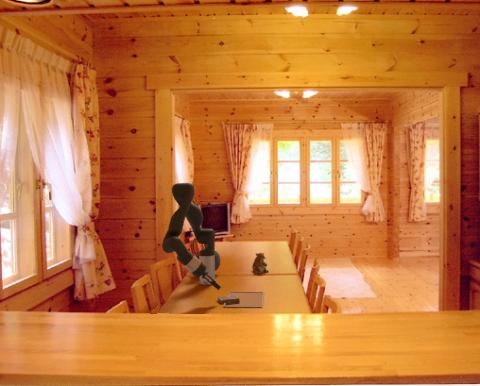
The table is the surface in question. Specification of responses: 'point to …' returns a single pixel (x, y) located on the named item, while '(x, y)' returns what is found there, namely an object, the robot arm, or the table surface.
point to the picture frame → (246, 300)
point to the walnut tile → (228, 299)
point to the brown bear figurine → (259, 264)
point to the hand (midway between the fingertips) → (219, 288)
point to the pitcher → (216, 255)
